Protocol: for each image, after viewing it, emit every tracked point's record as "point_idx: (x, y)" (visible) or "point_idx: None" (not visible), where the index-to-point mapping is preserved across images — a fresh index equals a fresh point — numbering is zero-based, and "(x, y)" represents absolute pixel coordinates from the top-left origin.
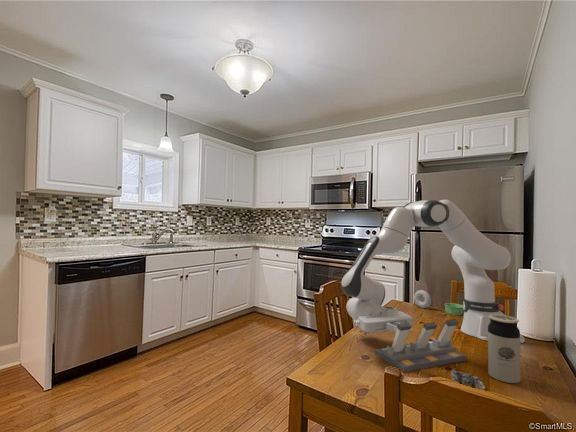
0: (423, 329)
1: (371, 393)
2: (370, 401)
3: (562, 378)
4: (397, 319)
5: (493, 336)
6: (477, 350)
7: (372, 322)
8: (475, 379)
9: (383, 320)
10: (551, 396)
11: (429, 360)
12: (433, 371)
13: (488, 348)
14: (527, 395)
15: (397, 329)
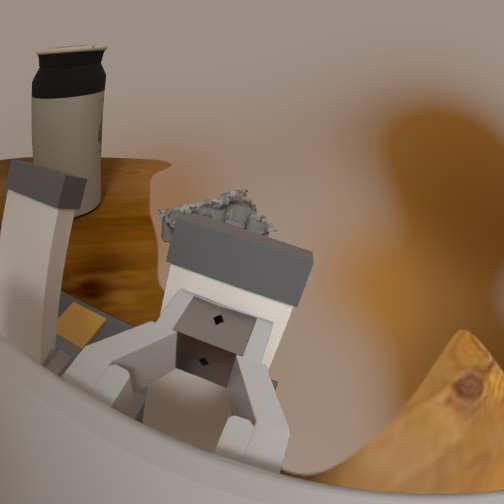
0: (61, 225)
1: (453, 370)
2: (466, 351)
3: (26, 161)
4: (39, 367)
5: (92, 99)
6: None
7: (487, 492)
8: (168, 216)
9: (307, 498)
10: (113, 167)
11: (104, 327)
12: (157, 319)
13: (69, 148)
14: (135, 182)
15: (289, 315)
